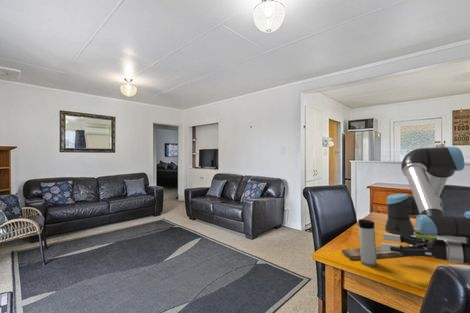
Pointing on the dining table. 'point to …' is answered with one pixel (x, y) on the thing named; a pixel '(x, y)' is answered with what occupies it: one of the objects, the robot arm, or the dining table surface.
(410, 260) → the dining table surface
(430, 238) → the plant pot
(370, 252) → the travel mug
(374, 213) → the dining table surface
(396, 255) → the walnut board
